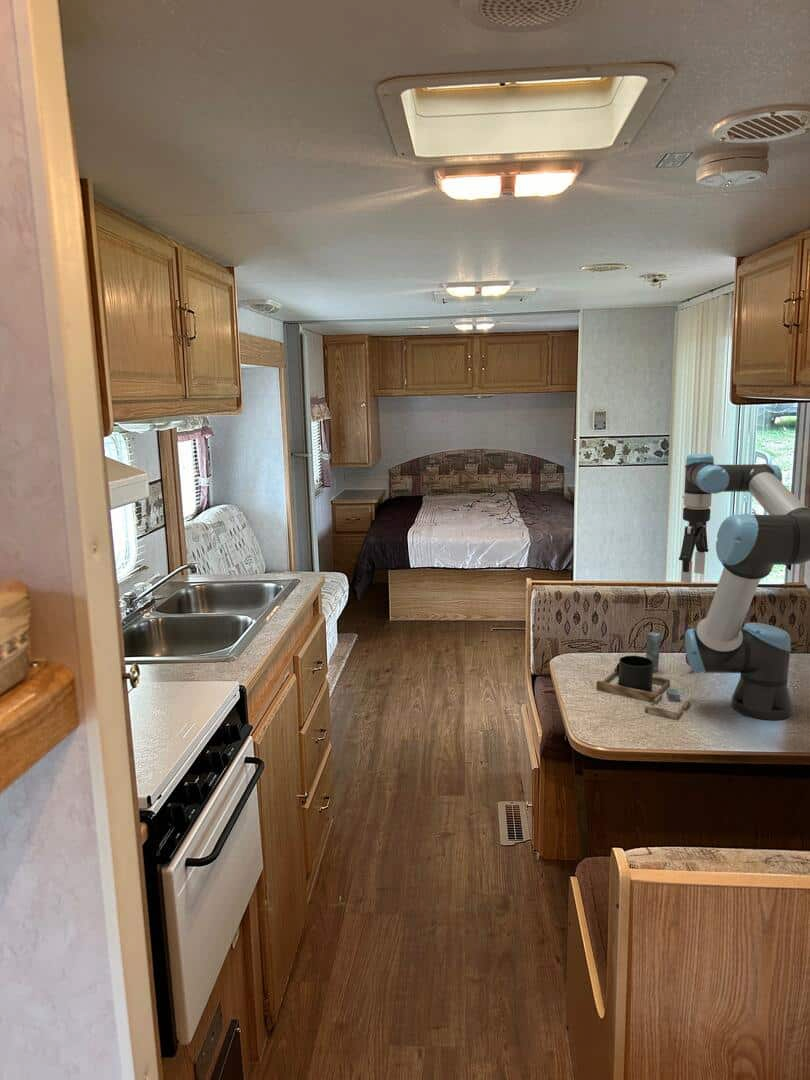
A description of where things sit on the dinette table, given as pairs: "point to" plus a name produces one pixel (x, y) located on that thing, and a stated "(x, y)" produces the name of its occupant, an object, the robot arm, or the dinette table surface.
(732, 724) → the dinette table surface
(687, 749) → the dinette table surface
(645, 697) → the wooden frame with post
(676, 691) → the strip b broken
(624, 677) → the mug
